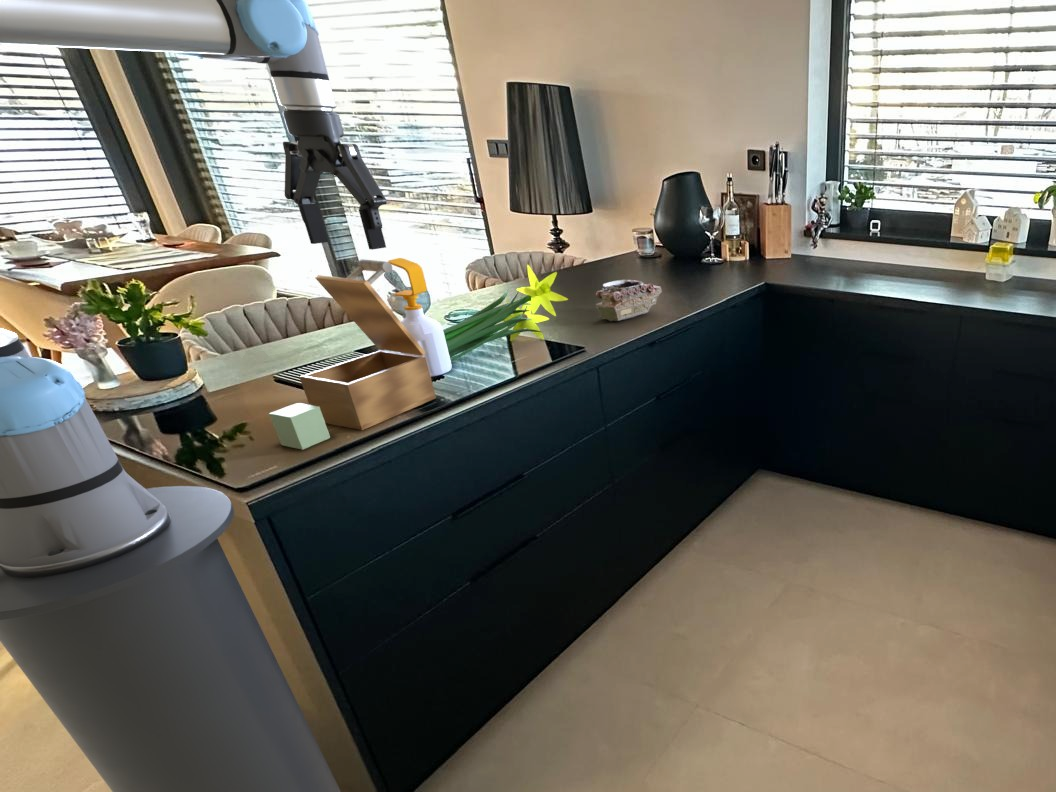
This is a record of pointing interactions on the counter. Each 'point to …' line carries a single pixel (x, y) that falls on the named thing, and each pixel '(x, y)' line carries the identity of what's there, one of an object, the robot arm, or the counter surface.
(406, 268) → the soap bottle
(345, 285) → the lid
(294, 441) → the block
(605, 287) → the decorative box
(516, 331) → the daffodil flowers
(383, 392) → the chest
